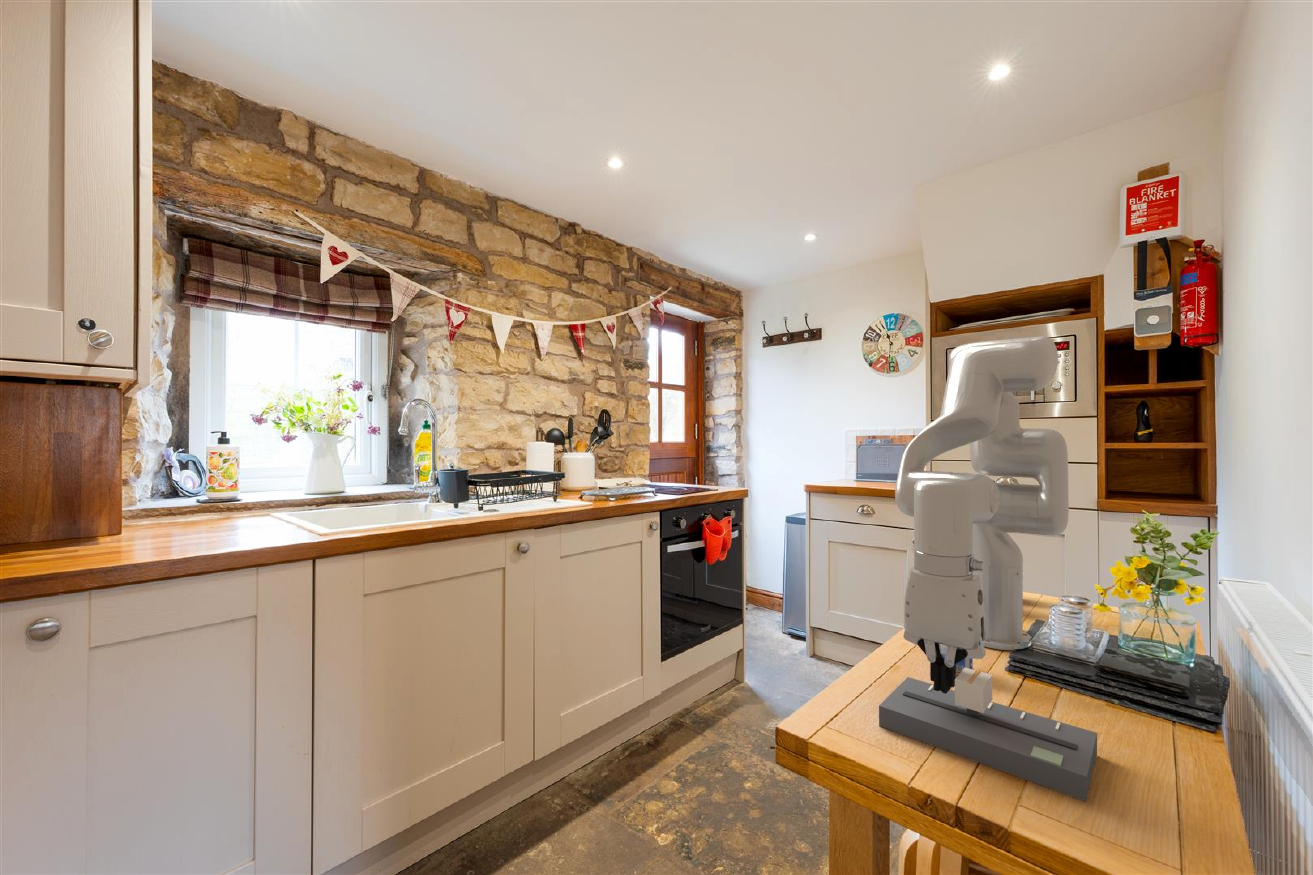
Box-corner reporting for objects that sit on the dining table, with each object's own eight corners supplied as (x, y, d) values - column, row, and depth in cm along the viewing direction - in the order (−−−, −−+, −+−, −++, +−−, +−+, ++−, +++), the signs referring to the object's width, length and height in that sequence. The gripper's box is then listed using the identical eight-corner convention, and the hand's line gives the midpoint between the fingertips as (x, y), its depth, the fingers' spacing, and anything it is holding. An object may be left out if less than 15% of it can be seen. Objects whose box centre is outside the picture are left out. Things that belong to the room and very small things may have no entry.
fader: (964, 701, 80) (964, 666, 80) (992, 709, 78) (992, 674, 77) (954, 714, 76) (954, 678, 76) (983, 724, 74) (983, 686, 74)
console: (907, 695, 89) (907, 675, 89) (1097, 755, 72) (1097, 731, 72) (878, 725, 80) (878, 704, 80) (1086, 801, 64) (1086, 774, 64)
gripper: (1009, 567, 77) (1009, 696, 77) (899, 550, 87) (899, 664, 87) (995, 578, 71) (995, 717, 72) (880, 560, 82) (881, 681, 82)
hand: (943, 688), depth 80 cm, fingers closed
